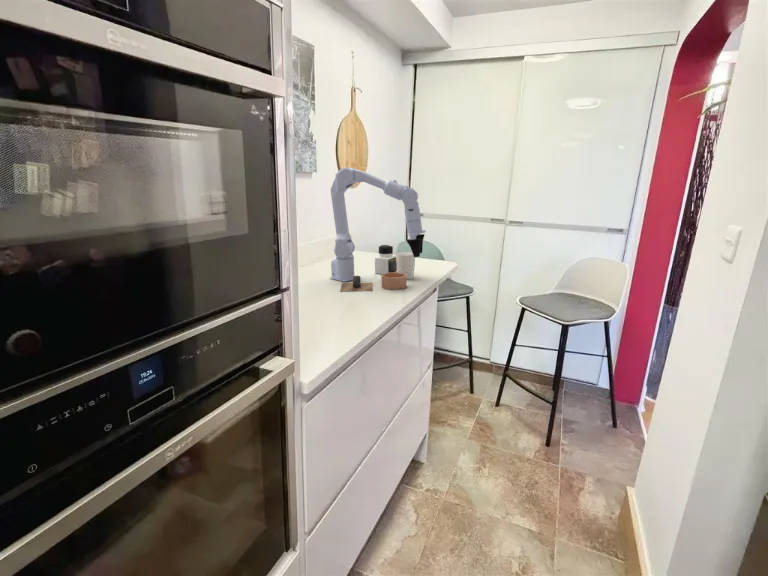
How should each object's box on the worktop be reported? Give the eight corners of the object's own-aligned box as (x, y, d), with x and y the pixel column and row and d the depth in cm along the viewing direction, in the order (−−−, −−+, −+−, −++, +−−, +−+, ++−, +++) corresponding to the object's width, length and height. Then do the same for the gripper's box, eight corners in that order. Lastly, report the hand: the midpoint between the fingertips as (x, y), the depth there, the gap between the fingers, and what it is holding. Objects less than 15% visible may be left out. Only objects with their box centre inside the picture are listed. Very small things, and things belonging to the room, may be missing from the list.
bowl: (376, 286, 163) (376, 275, 162) (392, 282, 169) (392, 271, 168) (394, 290, 157) (394, 279, 155) (410, 286, 163) (410, 274, 162)
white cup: (415, 275, 180) (415, 252, 177) (414, 279, 173) (414, 255, 170) (396, 275, 181) (396, 251, 178) (395, 279, 173) (395, 255, 171)
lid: (340, 293, 157) (339, 280, 155) (342, 285, 168) (341, 273, 167) (372, 292, 157) (372, 280, 156) (372, 284, 169) (372, 272, 167)
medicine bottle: (388, 275, 181) (388, 247, 177) (374, 273, 184) (374, 246, 181) (397, 272, 186) (397, 244, 183) (383, 270, 190) (383, 243, 187)
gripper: (421, 221, 157) (426, 257, 160) (425, 217, 170) (430, 250, 173) (402, 223, 158) (407, 259, 161) (408, 219, 172) (413, 252, 175)
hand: (418, 254), depth 168 cm, fingers open, 7 cm apart
